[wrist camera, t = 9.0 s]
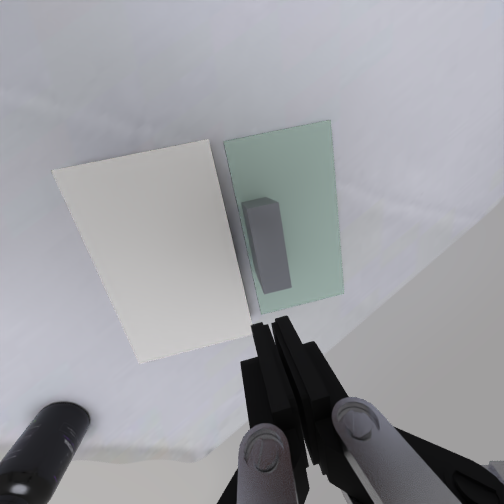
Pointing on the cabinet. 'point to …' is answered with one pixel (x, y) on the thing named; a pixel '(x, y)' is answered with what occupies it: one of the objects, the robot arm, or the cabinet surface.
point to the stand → (161, 247)
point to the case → (267, 243)
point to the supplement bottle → (42, 455)
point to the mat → (294, 206)
